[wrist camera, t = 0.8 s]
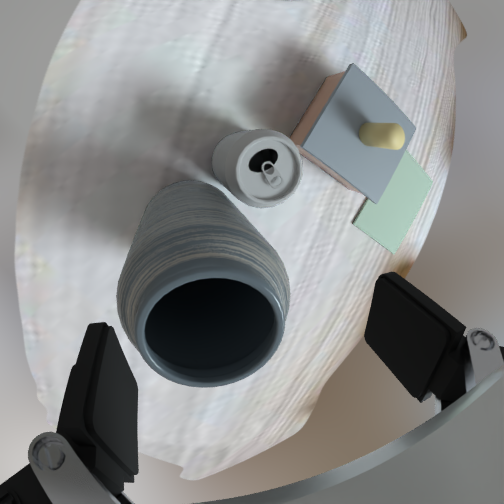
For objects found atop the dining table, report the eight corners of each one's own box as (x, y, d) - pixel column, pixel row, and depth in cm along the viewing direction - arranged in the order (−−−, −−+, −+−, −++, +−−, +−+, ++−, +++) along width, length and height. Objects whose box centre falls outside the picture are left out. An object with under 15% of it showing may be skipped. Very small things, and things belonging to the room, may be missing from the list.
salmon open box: (327, 76, 32) (351, 69, 27) (382, 126, 37) (409, 128, 32) (285, 144, 35) (305, 145, 29) (348, 189, 40) (372, 197, 34)
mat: (397, 141, 39) (399, 142, 38) (431, 181, 43) (433, 181, 43) (352, 223, 42) (353, 224, 42) (392, 253, 47) (394, 254, 46)
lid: (349, 64, 27) (379, 55, 21) (412, 127, 32) (442, 130, 27) (299, 146, 29) (325, 149, 24) (373, 202, 34) (402, 214, 29)
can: (251, 121, 33) (287, 113, 22) (278, 171, 36) (322, 186, 25) (199, 151, 32) (211, 156, 22) (230, 200, 36) (255, 228, 25)
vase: (126, 218, 33) (68, 331, 13) (196, 158, 33) (232, 187, 12) (184, 280, 38) (204, 421, 18) (250, 227, 38) (338, 332, 17)
